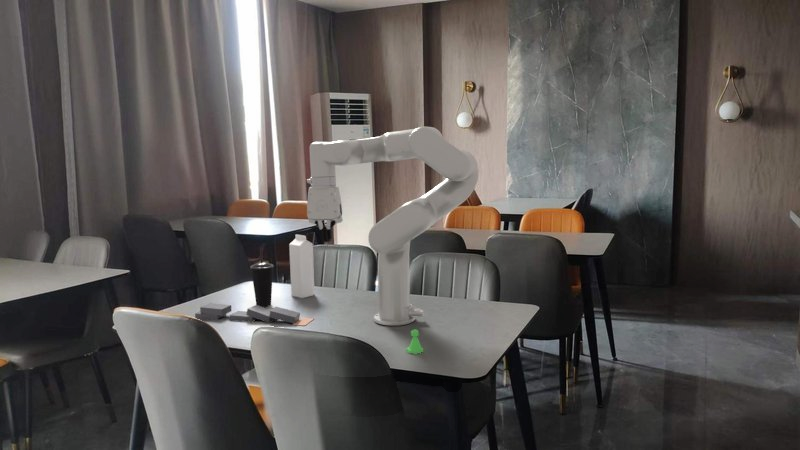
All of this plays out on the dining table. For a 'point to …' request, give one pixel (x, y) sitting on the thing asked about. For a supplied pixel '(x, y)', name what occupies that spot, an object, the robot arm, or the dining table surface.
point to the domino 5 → (284, 314)
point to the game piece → (415, 343)
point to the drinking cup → (262, 281)
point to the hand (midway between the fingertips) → (326, 241)
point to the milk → (301, 267)
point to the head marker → (303, 321)
